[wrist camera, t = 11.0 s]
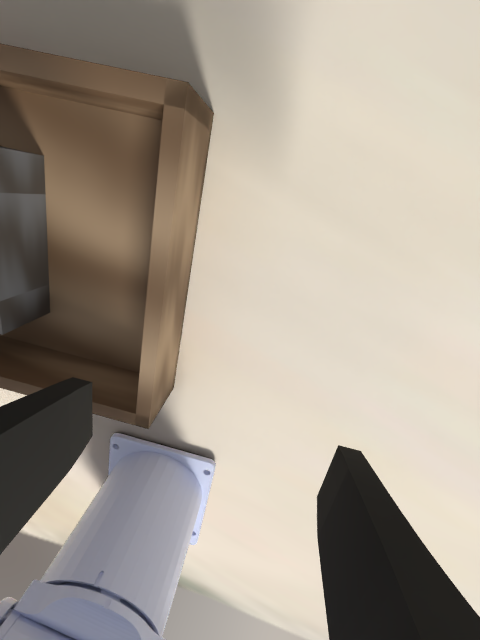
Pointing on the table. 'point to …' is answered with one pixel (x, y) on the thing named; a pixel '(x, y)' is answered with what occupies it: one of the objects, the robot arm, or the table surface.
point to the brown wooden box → (96, 227)
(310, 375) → the table surface
